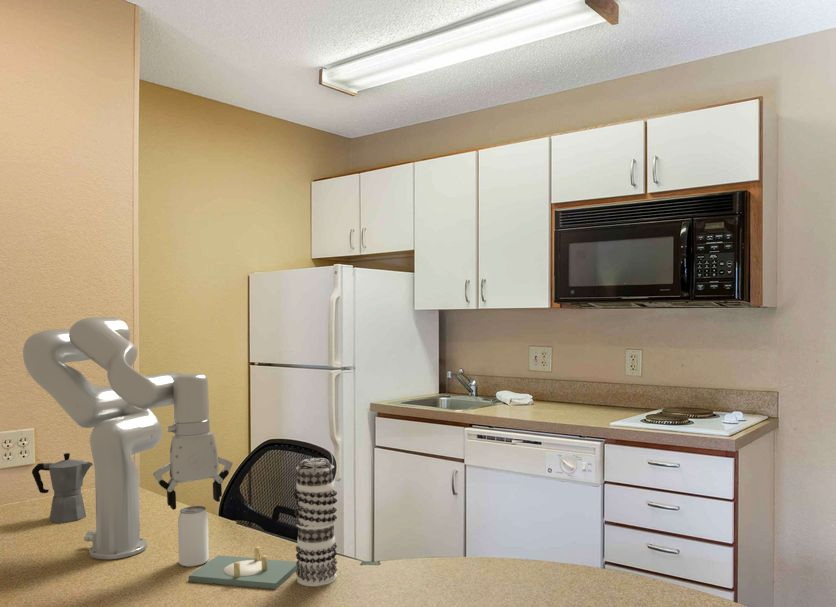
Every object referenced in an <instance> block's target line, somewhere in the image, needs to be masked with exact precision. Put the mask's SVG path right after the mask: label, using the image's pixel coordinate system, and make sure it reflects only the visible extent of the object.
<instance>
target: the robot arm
mask: <svg viewBox="0 0 836 607" xmlns="http://www.w3.org/2000/svg"><path fill="white" fill-rule="evenodd" d="M130 339H131V331H130V328H129V326H128V325H127V324H126V322H125V321H124V320H122V319H120V318H118V317H114V316H108V317H106V316H105V317H86V318H85V317H84V318H81V319H80V320H77V321H76V322H75V323H73V324H72V325H71V327H70V328H64V329H63V328H61V329H60V328H59V329H48V330H42V331H38V332H35V333H33V334H32V335H30V336H28V338H27V339H26V340H25V341H24V344H23V348H22V358H23V363H24V366H25V369H26V371H27V373H28V374H29V376H30V377H31V379H32V380H33V381H34V382H35V383H36V384H38V386H39V387H41V388H42V389H43V390H44V391H46V392H47V394H49V395H50V396H51V397H52V399H54V400H55V402H56V403H57V404H58V405H59V406H60V408H62V409H63V411H64V412H65V413H67V415H68V416H69V417H70V418H71V420H73V422H75V424H77V425H78V426H80V427H81V428H84V429H91V428H93V429H92V430H91V433H90V436H89V447H90V451H91V455H92V460H93V467H94V478H95V481H94V482H95V483H94V484H95V485H94V486H95V525H96V527H95V530H93V529H89V530H88V531H86V535H84V538H83V541H84V542H92V545H91V547H89V549H88V550H89V556H90V557H92V558H93V559H95V560H116V559H123V558H127V557H128V558H129V557H131V556H134V555H137V554H139V553H142V552H144V550H146V548H147V547H148V542H147V539H145V538H142V537H141V534H140V533H141V531H140V530H141V529H140V527H141V526H140V525H141V524H140V523H141V522H140V521H141V520H140V478H139V471H138V468H137V466H136V464H135V462H134V460H133V458H132V455H135V454H139V453H142V452H143V453H144V452H145V451H148V450H151V449H154V448H155V447H156V446H158V444H159V443H160V442H161V440H162V437H163V427H162V425H161V422H160V420H159V419H158V417H157V416H156V414H155V413H153V411H151V410H153V409H157V408H162V407H167V406H172V405H173V416H174V419H173V420H174V422H173V424H171V425H170V426H167V432H168V433H173V434H174V435H173V436H171V442H170V450H169V462H168V463H167V464H164V465H163V466H162V467H160V468H159V469H157V470H155V471H154V472H153V474H152V475H153V477H154V478H155V480H156V482H157V483H158V484H159V486H160V487H162V488H163V490H166V497H167V498H166V499H167V500H166V501H167V506H169V507H170V508H171V510H173V511H174V510H176V509H177V493H176V490H175V488H176V487H177V486H178V484H179V483H180V484H181V483H188V482H195V481H201V480H207V479H213V482H212V498H213V500H214V501H215V502H218V503H219V502H220V501H221V497H223V492H222V491H223V490H222V488H223V487H222V484H223V483H224V480H225V479H226V478H227V477H228V475H229V474H230V471H231V468H232V466H233V464H234V463H233V462H232V461H231V460H228V459H225V458H222V457H221V456H218V449H217V442H216V439H215V438H216V437H215V434H214V432H212V431H210V427H211V426H210V408H209V407H210V406H209V405H210V404H209V403H210V402H209V382H208V378H207V376H206V375H205V374H203V373H181V372H172V371H171V372H165V373H157V374H149V375H144V374H141V373H140V372H139V371H137V370H136V369H134V368H133V367H132V366H133V365H134V363H135V361H136V359H137V356H138V350H137V347H136V345H135V344H134V343H132V342H131V341H130ZM89 360H91V361H93V362H94V363H95V364H97V365H98V366H99V367H100V368H102V369H103V370H105V372H107V375H106V376H107V379H108V380H107V381H108V383H109V385H107V386H97V385H94V384H93V383H91V381H90V380H88V378H87V377H86V376H85V375H84V374H83V373H82V372H81V371H79V370H78V369H76V368H74V367H72V366H70V365H67V363H75V362H83V361H89ZM219 464H220V465H222V466H223V469H222V470H221V472H219V470H220V468H219V466H220V465H219ZM167 472H169V476H170V477H169V478H170V479H169V480H168V482H167V481H166V480H164V478H163V475H164V474H166V473H167Z"/></svg>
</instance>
